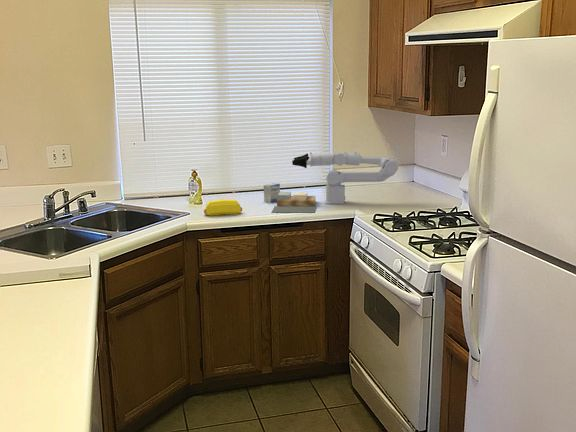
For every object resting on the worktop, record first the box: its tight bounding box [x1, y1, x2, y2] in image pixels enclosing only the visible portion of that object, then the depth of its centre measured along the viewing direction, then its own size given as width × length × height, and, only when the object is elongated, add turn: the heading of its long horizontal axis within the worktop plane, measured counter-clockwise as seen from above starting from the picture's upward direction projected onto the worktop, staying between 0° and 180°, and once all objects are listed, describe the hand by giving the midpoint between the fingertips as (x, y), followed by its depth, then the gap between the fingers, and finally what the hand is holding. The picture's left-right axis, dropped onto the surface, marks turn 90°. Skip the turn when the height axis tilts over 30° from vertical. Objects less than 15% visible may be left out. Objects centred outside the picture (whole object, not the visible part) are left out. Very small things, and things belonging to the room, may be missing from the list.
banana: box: [203, 199, 243, 217], centre depth 298 cm, size 18×7×8 cm
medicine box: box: [263, 182, 281, 204], centre depth 326 cm, size 8×4×9 cm, turn 143°
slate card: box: [278, 191, 292, 200], centre depth 318 cm, size 6×9×2 cm, turn 175°
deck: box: [276, 195, 317, 206], centre depth 317 cm, size 18×12×3 cm, turn 85°
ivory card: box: [293, 191, 308, 200], centre depth 317 cm, size 6×9×2 cm, turn 175°
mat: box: [271, 205, 317, 214], centre depth 304 cm, size 20×14×1 cm
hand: (293, 161), depth 318 cm, fingers open, 7 cm apart
